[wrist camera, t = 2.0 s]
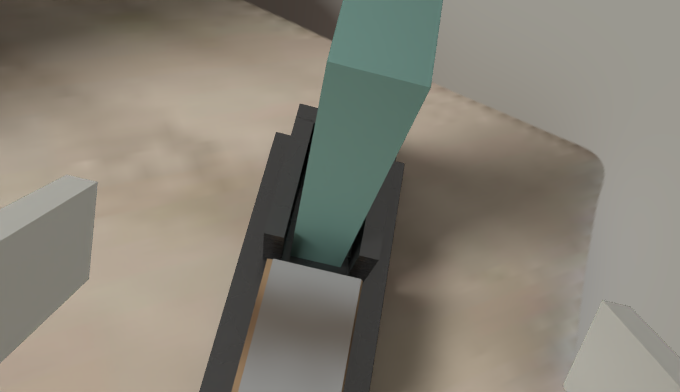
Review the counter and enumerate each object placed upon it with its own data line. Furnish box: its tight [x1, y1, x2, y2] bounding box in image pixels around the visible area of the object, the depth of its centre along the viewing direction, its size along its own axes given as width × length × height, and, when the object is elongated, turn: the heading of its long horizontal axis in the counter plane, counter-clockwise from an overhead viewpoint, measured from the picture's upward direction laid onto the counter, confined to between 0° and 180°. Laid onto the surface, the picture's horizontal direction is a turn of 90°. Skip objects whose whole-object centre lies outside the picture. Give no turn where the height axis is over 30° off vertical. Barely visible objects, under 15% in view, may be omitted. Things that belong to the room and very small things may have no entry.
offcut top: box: [238, 259, 361, 392], centre depth 28 cm, size 7×5×3 cm
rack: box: [199, 104, 404, 392], centre depth 32 cm, size 21×10×6 cm, turn 169°
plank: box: [290, 0, 443, 267], centre depth 27 cm, size 7×4×20 cm, turn 169°
